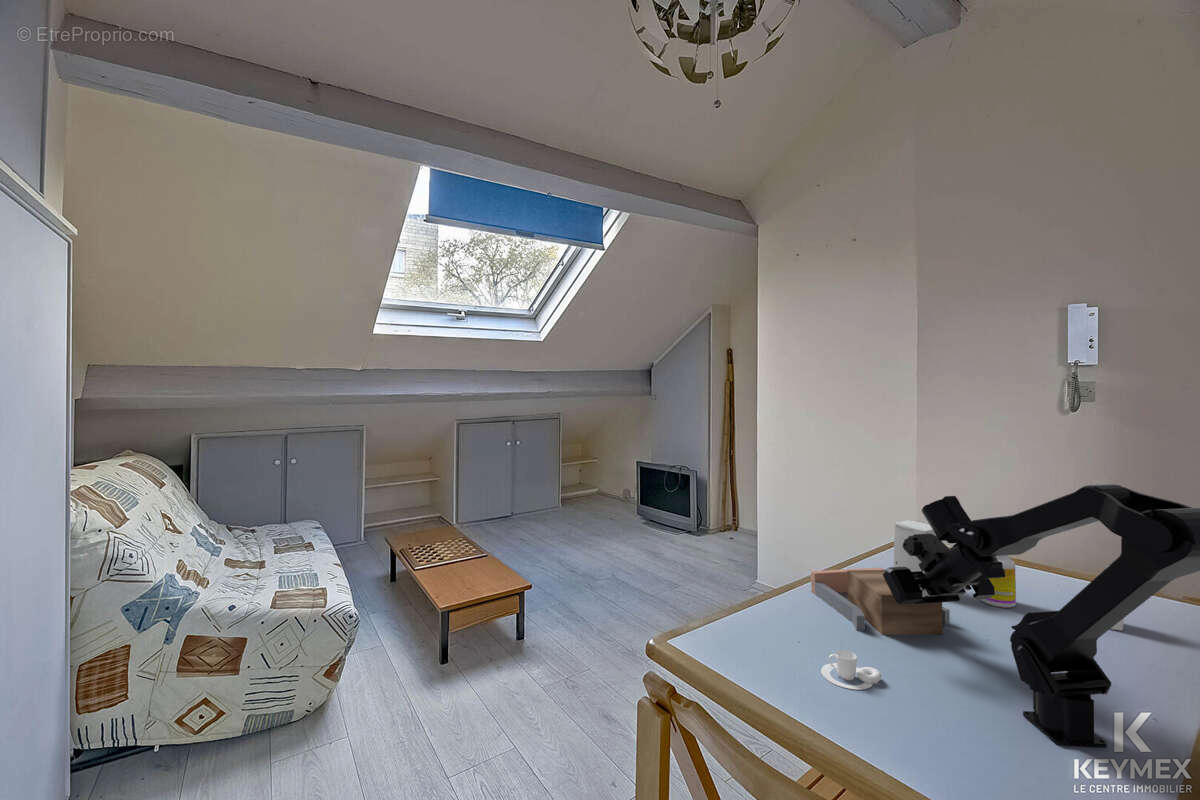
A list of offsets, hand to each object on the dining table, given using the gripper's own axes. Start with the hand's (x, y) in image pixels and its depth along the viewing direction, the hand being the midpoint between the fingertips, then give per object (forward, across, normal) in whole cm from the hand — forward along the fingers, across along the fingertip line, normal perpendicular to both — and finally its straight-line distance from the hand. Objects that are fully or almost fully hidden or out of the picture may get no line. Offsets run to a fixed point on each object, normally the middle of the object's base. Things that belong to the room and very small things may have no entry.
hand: (915, 601), depth 98 cm
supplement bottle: (+13, -29, -3) cm, 32 cm away
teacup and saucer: (-5, +22, +16) cm, 27 cm away
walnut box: (+10, 0, 0) cm, 10 cm away
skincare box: (+20, -18, -11) cm, 29 cm away
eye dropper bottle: (+4, -42, +6) cm, 42 cm away
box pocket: (+14, 0, -4) cm, 15 cm away
